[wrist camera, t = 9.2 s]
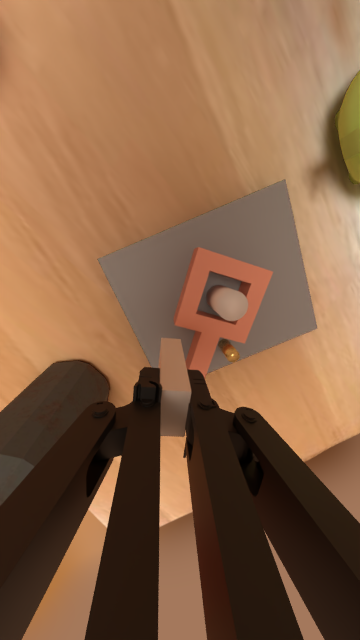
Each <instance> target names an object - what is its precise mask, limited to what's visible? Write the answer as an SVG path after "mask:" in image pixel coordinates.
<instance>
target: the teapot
mask: <svg viewBox="0 0 360 640" xmlns="http://www.w3.org/2000/svg"><path fill="white" fill-rule="evenodd" d="M335 127H336V129H337V130H338V134H339V141H340V146H341V151H342V155H343V158H344V161H345V164H346V166H347V169H348V171H349V180H350V181H351V182H352V183H353V184H359V183H360V71H359V72H358V73H357V75H356V76H355V78H354V79H353V81H352V82H351V84H350V86H349V88H348V90H347V92H346V95H345V97H344V100H343V103H342V106H341V109H340V110H339V111H338V112H337V114H336V116H335Z"/></svg>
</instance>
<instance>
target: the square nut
mask: <svg viewBox="0 0 360 640" xmlns="http://www.w3.org/2000/svg"><path fill="white" fill-rule="evenodd" d="M209 272H213V273H217V274H220V275H223V276H226V277H229V278H233V279H236V280H239V281H242V282H241V285H240V288H239V290H238V291H239V292H241V293H243V294H244V295H245V296H246V298H247V300H248V309H247V312H246V313H245V315H244V316H243V317H242V318H240V319H239V320H236V321H227V320H225V319H224V318H222V317H221V316H217V315H214V314H210V313H206V312H203V311H199V310H197V309H198V306H199V303H200V299H201V296H202V293H203V290H204V287H205V284H206V281H207V278H208V275H209ZM272 274H273V271H270V270H267V269H264V268H260V267H257V266H254V265H251V264H248V263H245V262H242V261H239V260H236V259H233V258H230V257H227V256H224V255H221V254H218V253H215V252H212V251H209V250H206V249H203V248H200V247H197V248H195V249H194V251H193V255H192V258H191V261H190V265H189V268H188V271H187V275H186V278H185V281H184V285H183V288H182V291H181V295H180V298H179V301H178V305H177V308H176V311H175V315H174V318H173V320H174V324H175V326H179V327H183V328H187V329H191V330H195V334H194V337H193V340H192V343H191V346H190V349H189V352H188V355H187V358H186V361H185V363H186V368H187V369H190V370H199V371H200V372H201V373H202V374H203V376H204V379H205V377H206V374H207V371H208V368H209V366H210V363H211V360H212V357H213V355H214V352H215V349H216V346H217V344H218V341H219V338H220V337H221V338H225V339H229V340H233V341H237V342H241V343H244V344H245V342H246V339H247V337H248V334H249V332H250V329H251V327H252V324H253V322H254V319H255V317H256V314H257V312H258V309H259V307H260V304H261V302H262V299H263V297H264V294H265V291H266V289H267V286H268V284H269V281H270V279H271V276H272Z"/></svg>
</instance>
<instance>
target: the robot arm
mask: <svg viewBox="0 0 360 640" xmlns="http://www.w3.org/2000/svg"><path fill="white" fill-rule="evenodd" d="M185 430H186V436H187V437H186V443H185V449H184V456H183V458H186V456H187V465H188V474H189V483H190V492H191V501H192V509H193V518H194V527H195V535H196V545H197V553H198V562H199V571H200V580H201V588H202V598H203V606H204V615H205V624H206V633H207V640H304V639H303V636H302V634H301V631H300V628H299V625H298V623H297V620H296V617H295V615H294V612H293V609H292V606H291V604H290V601H289V598H288V595H287V593H286V590H285V587H284V584H283V582H282V579H281V576H280V573H279V571H278V568H277V565H276V562H275V560H274V557H273V554H272V551H271V549H270V546H269V543H268V540H267V538H266V535H265V532H266V534H267V536H268V538H269V540H270V541H271V543H272V545H273V547H274V549H275V550H276V552H277V554H278V556H279V558H280V560H281V561H282V563H283V565H284V567H285V568H286V570H287V572H288V574H289V576H290V578H291V580H292V581H293V583H294V585H295V587H296V589H297V590H298V592H299V594H300V596H301V598H302V600H303V601H304V603H305V605H306V607H307V609H308V610H309V612H310V614H311V616H312V618H313V620H314V621H315V623H316V625H317V627H318V629H319V630H320V632H321V634H322V636H323V638H324V639H325V640H360V523H359V522H358V521H357V520H356V519H355V518H354V517H353V516H352V515H351V514H350V512H349V511H348V510H347V509H346V508H345V507H344V506H343V505H342V504H341V503H340V501H339V500H338V499H337V498H336V497H335V496H334V495H333V494H332V493H331V492H330V491H329V489H328V488H327V487H326V486H325V485H324V484H323V483H322V482H321V481H320V479H319V478H318V477H317V476H316V475H315V474H314V473H313V472H312V471H311V470H310V468H309V467H308V466H307V465H306V464H305V463H304V462H303V461H302V460H301V459H300V458H299V456H298V455H297V454H296V453H295V452H294V451H293V450H292V449H291V448H290V447H289V445H288V444H287V443H286V442H285V441H284V440H283V439H282V438H281V437H280V436H279V434H278V433H277V432H276V431H275V430H274V429H273V428H272V427H271V426H270V425H269V424H268V422H267V421H266V420H265V419H264V418H263V417H262V416H261V415H260V414H259V413H258V412H257V411H255V410H253V409H251V408H247V407H240V408H237V409H236V411H235V413H232V412H228V411H225V410H222V409H220V408H219V406H218V404H217V402H216V401H214V400H213V399H212V398H211V396H210V393H209V390H208V387H207V385H206V382H205V379H204V376H203V374H202V373H201V372H200V371H199V370H190V369H187V368H186V363H185V358H184V353H183V348H182V344H181V339H172V338H161V347H160V357H159V367H158V368H151V367H144V368H143V369H142V370H141V371H140V375H139V380H138V382H137V383H136V384H135V385H134V393H133V401H132V402H131V403H130V404H128V405H126V406H123V407H118V408H115V406H114V405H113V404H112V403H110V402H108V401H99V402H95V403H93V404H90V405H89V406H88V407H87V408H86V409H85V410H84V411H83V412H82V413H81V414H80V416H79V417H78V418H77V419H76V420H75V421H74V422H73V424H72V425H71V426H70V427H69V428H68V429H67V430H66V432H65V433H64V434H63V435H62V436H61V437H60V438H59V440H58V441H57V442H56V443H55V444H54V445H53V446H52V448H51V449H50V450H49V451H48V452H47V453H46V454H45V455H44V457H43V458H42V459H41V460H40V461H39V462H38V463H37V465H36V466H35V467H34V468H33V469H32V470H31V471H30V473H29V474H28V475H27V476H26V477H25V478H24V479H23V481H22V482H21V483H20V484H19V485H18V486H17V487H16V489H15V490H14V491H13V492H12V493H11V494H10V495H9V496H8V498H7V499H6V500H5V501H4V502H3V503H2V504H1V506H0V640H22V638H23V636H24V634H25V632H26V630H27V628H28V626H29V624H30V622H31V620H32V618H33V616H34V614H35V612H36V610H37V608H38V606H39V604H40V602H41V600H42V598H43V596H44V594H45V593H46V591H47V589H48V587H49V585H50V583H51V581H52V579H53V577H54V575H55V573H56V571H57V569H58V567H59V565H60V563H61V561H62V559H63V557H64V555H65V553H66V551H67V550H68V548H69V546H70V544H71V542H72V540H73V538H74V536H75V534H76V532H77V530H78V528H79V526H80V524H81V522H82V520H83V518H84V516H85V514H86V512H87V510H88V508H89V506H90V504H91V503H92V501H93V499H94V497H95V495H96V493H97V491H98V489H99V487H100V485H101V483H102V481H103V479H104V477H105V475H106V473H107V471H108V469H109V467H110V465H111V463H112V461H113V458H114V457H117V456H120V455H122V458H121V463H120V468H119V473H118V478H117V482H116V487H115V492H114V497H113V502H112V507H111V512H110V517H109V522H108V527H107V532H106V537H105V542H104V546H103V551H102V556H101V562H100V566H99V571H98V576H97V581H96V586H95V591H94V596H93V601H92V605H91V611H90V615H89V621H88V625H87V630H86V635H85V640H158V584H159V583H158V582H159V579H158V578H159V504H160V436H180V437H184V436H185ZM264 531H265V532H264Z"/></svg>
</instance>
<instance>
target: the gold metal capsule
mask: <svg viewBox="0 0 360 640" xmlns="http://www.w3.org/2000/svg"><path fill="white" fill-rule="evenodd" d="M218 346H219V348H220V349H221V351H222V352H223V354H224V355H225V357H226V358H227V360H228V361H229V362H236V361H238V360H239V358H240V354H239V352H238V351H237V350H236V349H235V348H234V347H233V345H232V344H231V343H230V342H229V341H228V340H227V339H222V340H220V341H219V343H218Z"/></svg>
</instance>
